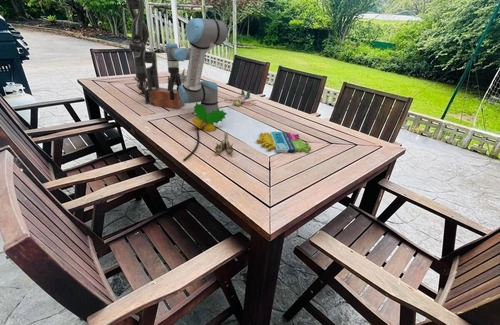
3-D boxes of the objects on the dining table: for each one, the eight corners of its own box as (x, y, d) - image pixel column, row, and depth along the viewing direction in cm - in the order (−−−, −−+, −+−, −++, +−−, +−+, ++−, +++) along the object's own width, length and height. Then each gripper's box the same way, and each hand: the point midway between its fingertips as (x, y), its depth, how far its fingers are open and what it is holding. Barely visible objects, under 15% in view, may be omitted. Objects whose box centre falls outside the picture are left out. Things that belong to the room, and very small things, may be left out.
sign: (313, 150, 142) (258, 149, 139) (312, 153, 143) (258, 152, 140) (301, 132, 164) (254, 130, 161) (301, 134, 165) (254, 133, 162)
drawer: (138, 102, 199) (136, 89, 194) (145, 99, 207) (143, 87, 202) (168, 106, 195) (167, 93, 190) (174, 102, 203) (173, 90, 199)
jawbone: (234, 135, 144) (233, 125, 135) (233, 160, 138) (232, 151, 129) (217, 135, 144) (216, 125, 135) (216, 160, 138) (214, 150, 129)
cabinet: (153, 105, 197) (151, 90, 191) (160, 102, 206) (159, 87, 200) (178, 108, 194) (177, 93, 188) (184, 105, 203) (183, 90, 197)
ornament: (218, 133, 171) (224, 110, 169) (221, 134, 163) (227, 111, 161) (186, 125, 162) (192, 101, 160) (189, 126, 155) (195, 101, 153)
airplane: (159, 78, 275) (158, 68, 270) (189, 77, 288) (188, 67, 283) (167, 88, 246) (166, 77, 241) (199, 86, 260) (199, 75, 254)
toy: (261, 91, 228) (254, 99, 202) (261, 99, 231) (253, 108, 205) (231, 87, 233) (220, 95, 207) (230, 95, 236) (219, 104, 210)
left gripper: (141, 69, 198) (144, 92, 206) (130, 72, 187) (134, 96, 195) (150, 70, 197) (153, 93, 205) (140, 73, 186) (144, 97, 194)
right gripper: (175, 64, 195) (177, 93, 206) (160, 69, 176) (163, 101, 186) (185, 65, 194) (186, 94, 205) (170, 70, 175) (173, 102, 185)
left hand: (144, 95), depth 200 cm, fingers closed
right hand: (175, 97), depth 196 cm, fingers closed on cabinet, 11 cm apart
